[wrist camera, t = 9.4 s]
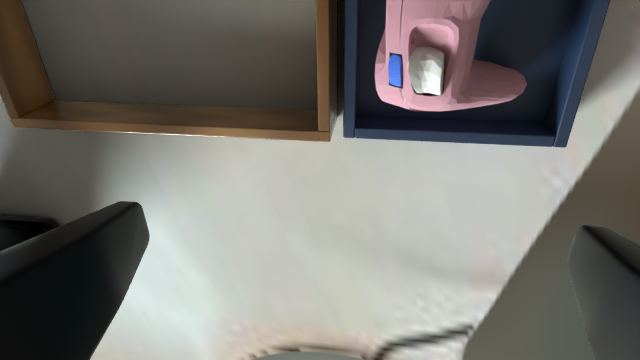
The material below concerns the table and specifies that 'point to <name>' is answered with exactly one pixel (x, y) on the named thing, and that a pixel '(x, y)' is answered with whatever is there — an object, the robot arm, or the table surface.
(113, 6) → the table surface
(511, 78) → the video game controller
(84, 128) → the wooden box
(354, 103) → the tray
